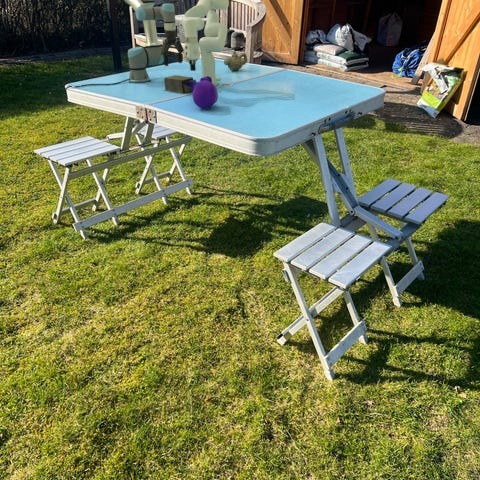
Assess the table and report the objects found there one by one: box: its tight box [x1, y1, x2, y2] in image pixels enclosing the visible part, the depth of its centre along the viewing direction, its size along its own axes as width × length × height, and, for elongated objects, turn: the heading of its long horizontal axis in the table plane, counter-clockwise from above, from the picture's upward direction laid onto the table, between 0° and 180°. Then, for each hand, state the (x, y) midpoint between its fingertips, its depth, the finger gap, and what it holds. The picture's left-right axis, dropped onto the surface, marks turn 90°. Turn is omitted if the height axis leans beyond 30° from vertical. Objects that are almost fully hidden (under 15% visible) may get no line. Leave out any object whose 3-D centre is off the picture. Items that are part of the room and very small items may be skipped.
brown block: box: [163, 74, 194, 94], centre depth 307 cm, size 17×11×8 cm, turn 53°
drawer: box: [183, 79, 197, 93], centre depth 303 cm, size 21×10×6 cm, turn 53°
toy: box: [181, 76, 219, 110], centre depth 265 cm, size 16×18×27 cm
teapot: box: [223, 50, 248, 72], centre depth 366 cm, size 21×12×15 cm, turn 120°
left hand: (173, 64), depth 305 cm, fingers open, 13 cm apart
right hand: (193, 70), depth 294 cm, fingers closed
